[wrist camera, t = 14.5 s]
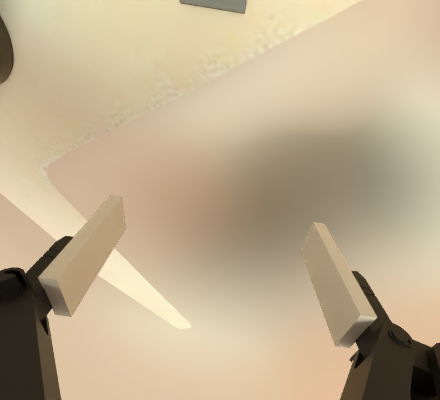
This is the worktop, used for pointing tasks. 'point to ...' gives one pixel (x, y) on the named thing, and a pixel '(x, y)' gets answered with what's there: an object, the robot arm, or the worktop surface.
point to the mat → (219, 4)
